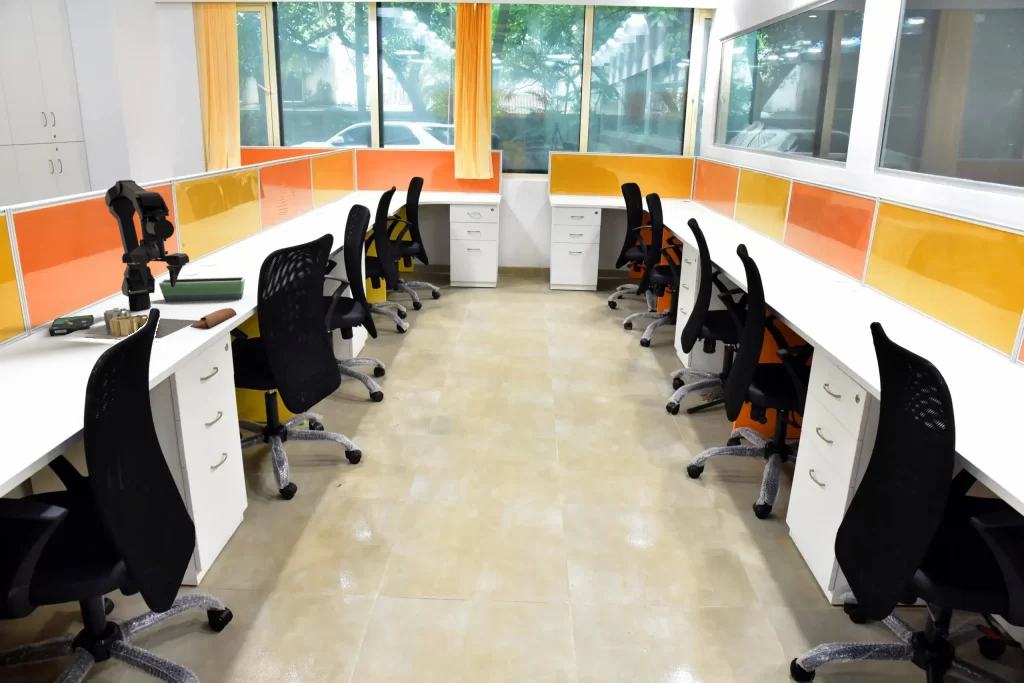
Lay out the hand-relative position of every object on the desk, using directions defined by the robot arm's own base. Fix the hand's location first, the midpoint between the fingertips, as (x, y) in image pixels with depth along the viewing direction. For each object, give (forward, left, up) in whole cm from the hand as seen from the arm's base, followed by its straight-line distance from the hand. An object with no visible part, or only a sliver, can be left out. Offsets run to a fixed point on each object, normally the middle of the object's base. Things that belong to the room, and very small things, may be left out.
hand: (159, 286), depth 221 cm
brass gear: (+15, -2, -11) cm, 19 cm away
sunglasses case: (-2, +15, -13) cm, 20 cm away
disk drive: (+10, -23, -13) cm, 28 cm away
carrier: (+8, -1, -12) cm, 14 cm away
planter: (-33, -6, -12) cm, 36 cm away
